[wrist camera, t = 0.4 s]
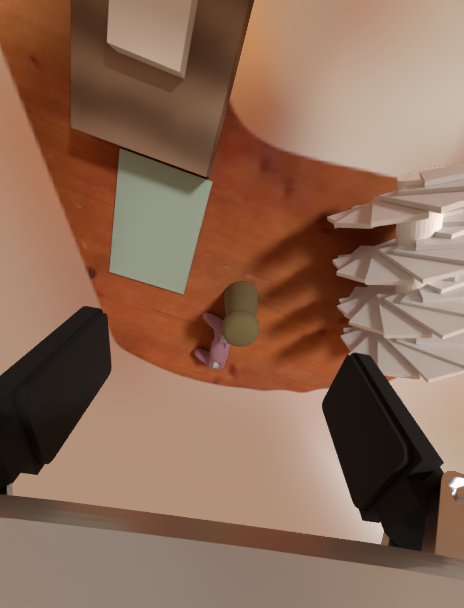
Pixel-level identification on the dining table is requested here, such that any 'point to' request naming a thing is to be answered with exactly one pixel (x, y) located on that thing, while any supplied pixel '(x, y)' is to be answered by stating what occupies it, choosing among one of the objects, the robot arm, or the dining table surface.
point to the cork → (240, 314)
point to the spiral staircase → (409, 277)
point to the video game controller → (214, 344)
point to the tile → (153, 31)
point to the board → (157, 86)
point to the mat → (156, 221)
